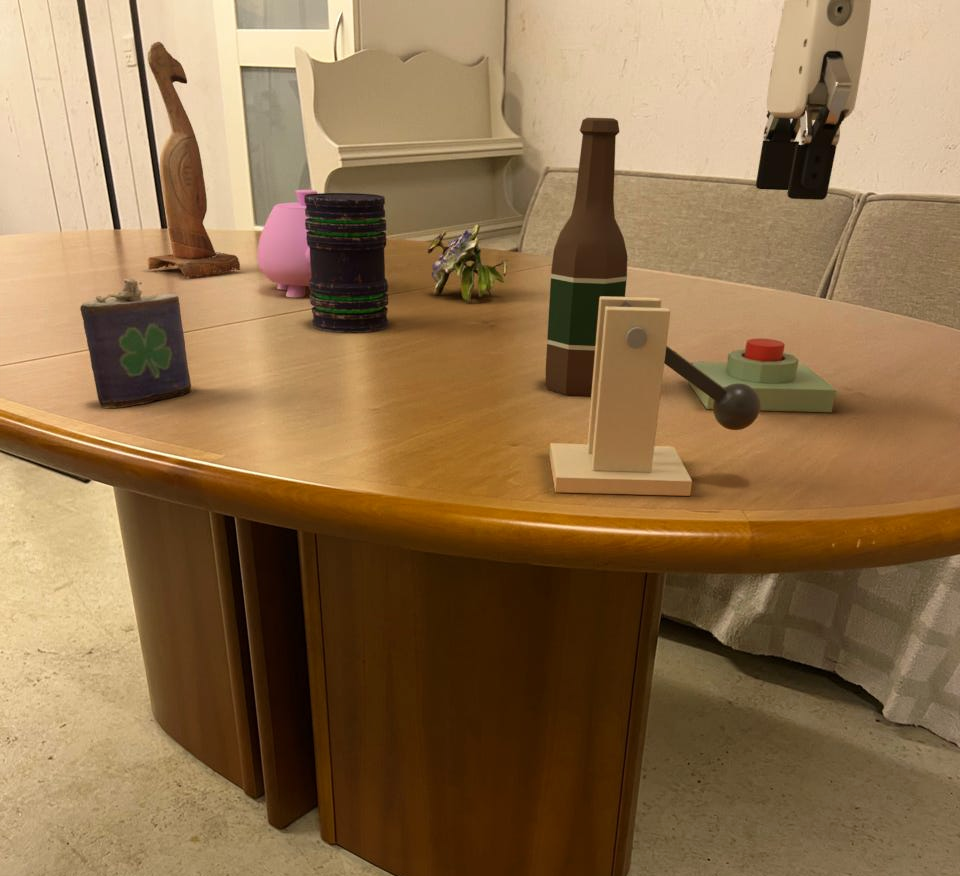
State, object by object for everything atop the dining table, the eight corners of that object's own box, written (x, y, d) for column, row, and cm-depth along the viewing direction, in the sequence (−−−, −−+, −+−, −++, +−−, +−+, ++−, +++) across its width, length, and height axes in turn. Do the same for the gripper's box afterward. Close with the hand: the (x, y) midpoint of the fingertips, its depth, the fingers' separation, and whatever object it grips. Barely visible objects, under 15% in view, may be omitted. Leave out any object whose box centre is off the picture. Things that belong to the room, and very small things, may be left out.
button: (776, 356, 93) (779, 338, 92) (785, 365, 89) (789, 346, 89) (740, 355, 93) (743, 337, 92) (748, 364, 89) (751, 345, 89)
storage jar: (381, 316, 124) (377, 193, 117) (396, 331, 116) (393, 199, 109) (306, 318, 122) (297, 192, 114) (317, 334, 113) (308, 199, 106)
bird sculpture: (244, 271, 154) (222, 43, 138) (186, 279, 146) (155, 38, 130) (202, 264, 160) (177, 45, 144) (144, 271, 152) (109, 39, 136)
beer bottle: (530, 379, 97) (544, 116, 85) (598, 375, 99) (620, 118, 87) (559, 399, 90) (577, 117, 78) (630, 394, 92) (659, 119, 81)
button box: (801, 385, 97) (809, 346, 95) (831, 412, 88) (840, 370, 86) (687, 382, 97) (692, 343, 95) (706, 409, 88) (712, 367, 86)
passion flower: (440, 332, 142) (419, 258, 142) (507, 316, 143) (487, 243, 144) (444, 299, 131) (422, 219, 131) (518, 283, 132) (495, 204, 132)
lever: (733, 430, 72) (763, 394, 70) (743, 444, 69) (775, 407, 67) (599, 333, 68) (627, 293, 67) (603, 343, 65) (633, 301, 64)
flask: (183, 386, 91) (167, 271, 86) (199, 393, 89) (184, 275, 84) (93, 404, 85) (70, 281, 80) (108, 411, 84) (86, 286, 78)
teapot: (384, 302, 133) (381, 196, 126) (276, 307, 128) (267, 197, 121) (346, 278, 150) (342, 184, 143) (249, 282, 145) (240, 185, 138)
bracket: (672, 460, 75) (694, 295, 69) (690, 496, 68) (716, 315, 62) (549, 457, 75) (559, 291, 69) (555, 492, 68) (567, 312, 62)
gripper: (924, -59, 66) (866, 204, 75) (839, -29, 81) (799, 187, 90) (820, -63, 66) (774, 201, 75) (754, -33, 81) (723, 185, 89)
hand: (788, 193), depth 82 cm, fingers open, 9 cm apart
